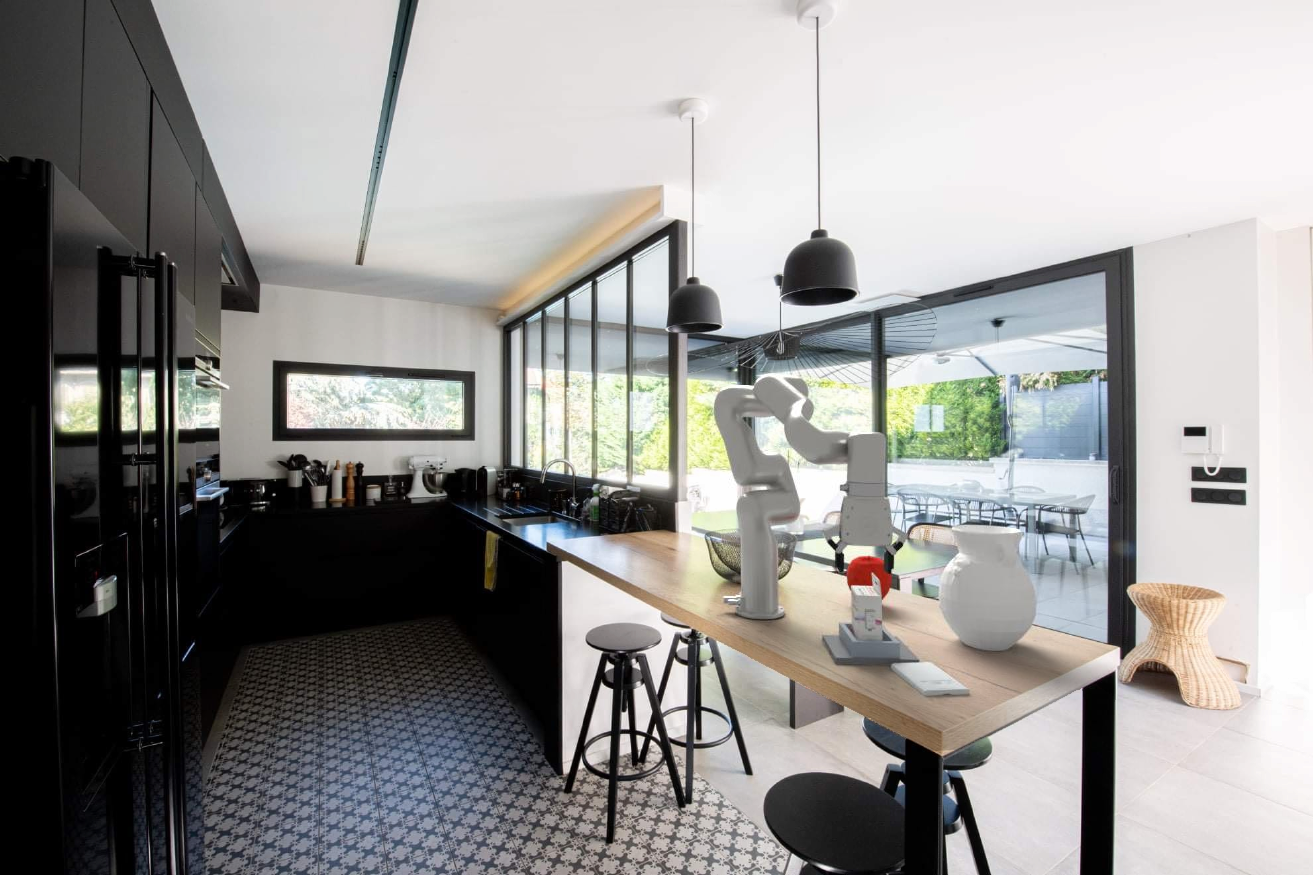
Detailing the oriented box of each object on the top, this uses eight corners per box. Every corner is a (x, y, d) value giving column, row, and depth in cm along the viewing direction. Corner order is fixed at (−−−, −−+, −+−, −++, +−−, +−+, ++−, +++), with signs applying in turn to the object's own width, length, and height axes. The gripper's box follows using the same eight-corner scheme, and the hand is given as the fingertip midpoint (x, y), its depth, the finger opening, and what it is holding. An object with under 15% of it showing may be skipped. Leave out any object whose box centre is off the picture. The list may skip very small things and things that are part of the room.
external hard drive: (931, 670, 115) (969, 697, 102) (891, 671, 114) (924, 699, 102) (931, 661, 115) (969, 687, 102) (890, 663, 114) (924, 689, 102)
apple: (900, 611, 153) (899, 559, 153) (855, 611, 153) (854, 560, 153) (883, 599, 164) (882, 551, 165) (841, 599, 165) (840, 551, 165)
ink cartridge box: (850, 638, 128) (849, 570, 128) (874, 639, 127) (873, 571, 127) (857, 652, 119) (857, 579, 120) (883, 653, 119) (882, 580, 119)
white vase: (1058, 657, 120) (1057, 533, 120) (971, 660, 118) (969, 535, 119) (999, 628, 138) (997, 521, 138) (923, 630, 137) (921, 523, 137)
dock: (835, 663, 117) (835, 642, 117) (822, 640, 131) (822, 621, 131) (919, 665, 115) (919, 644, 116) (896, 641, 129) (896, 622, 129)
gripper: (826, 491, 121) (825, 574, 121) (914, 493, 119) (912, 577, 120) (820, 487, 128) (818, 566, 129) (902, 489, 127) (900, 568, 127)
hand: (863, 571), depth 124 cm, fingers open, 9 cm apart
